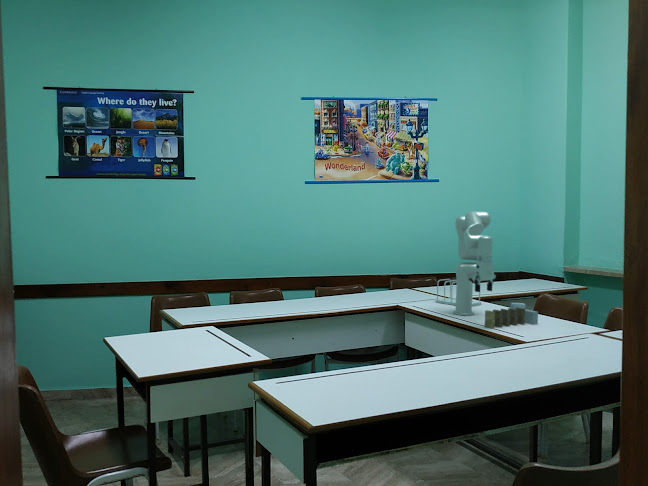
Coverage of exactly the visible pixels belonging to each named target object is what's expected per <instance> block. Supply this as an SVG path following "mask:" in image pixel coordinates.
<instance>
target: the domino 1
mask: <svg viewBox="0 0 648 486" xmlns="http://www.w3.org/2000/svg"><path fill="white" fill-rule="evenodd" d="M484 327H485V328H488V329H495V312H493V310H488V309H487V310H486V309H485V311H484Z"/></svg>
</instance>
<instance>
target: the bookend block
mask: <svg viewBox="0 0 648 486" xmlns="http://www.w3.org/2000/svg"><path fill="white" fill-rule="evenodd" d="M538 319H539V311H535V310H531V309H526V308H525V324H528V325H534V326H535V325H538V323H539V322H538V321H539V320H538Z"/></svg>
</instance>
